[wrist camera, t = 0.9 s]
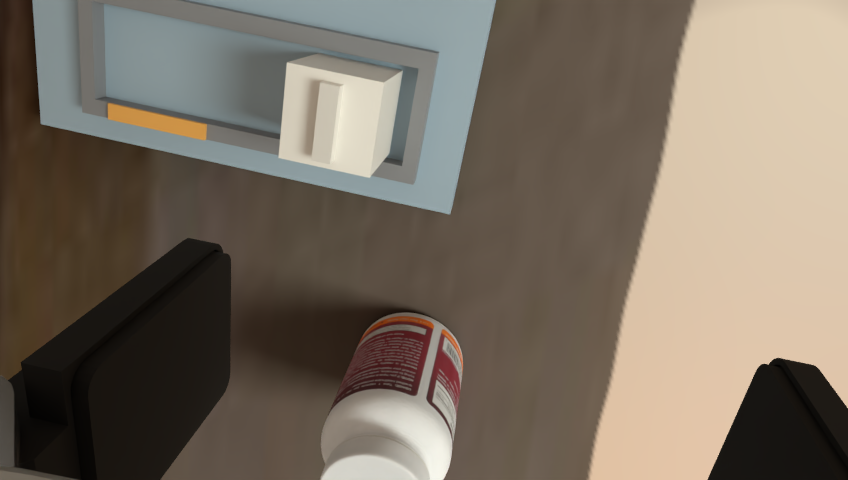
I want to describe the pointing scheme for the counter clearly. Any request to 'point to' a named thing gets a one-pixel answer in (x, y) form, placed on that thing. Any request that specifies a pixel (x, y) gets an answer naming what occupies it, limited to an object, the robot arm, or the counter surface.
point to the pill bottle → (396, 404)
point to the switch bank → (263, 79)
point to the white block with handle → (338, 113)
